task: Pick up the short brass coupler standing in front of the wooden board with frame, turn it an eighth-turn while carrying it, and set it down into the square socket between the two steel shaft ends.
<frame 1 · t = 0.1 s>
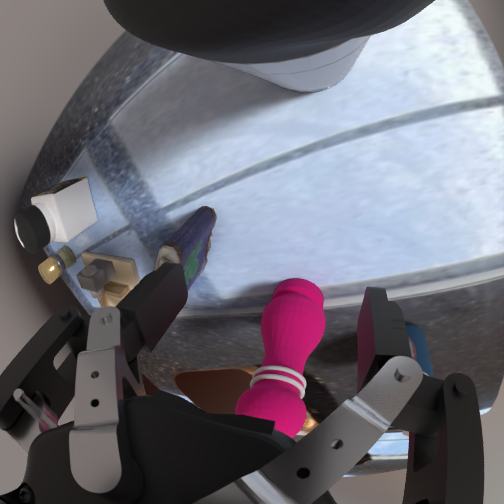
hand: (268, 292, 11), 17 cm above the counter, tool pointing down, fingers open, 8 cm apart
flask: (202, 238, 33), on the counter
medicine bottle: (80, 199, 35), on the counter
pepper mill: (298, 297, 33), on the counter
wooden board with frame: (121, 296, 43), on the counter
soda can: (400, 335, 32), on the counter
coupler: (69, 254, 43), on the counter
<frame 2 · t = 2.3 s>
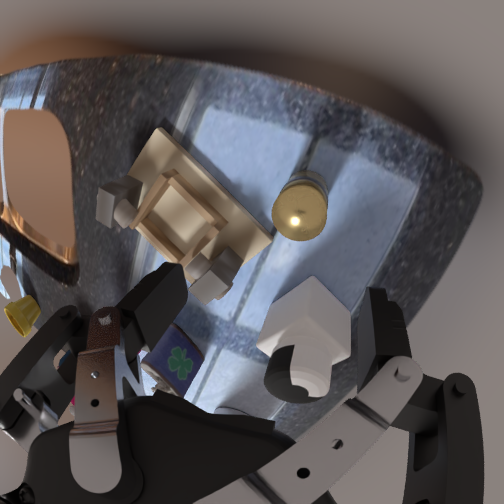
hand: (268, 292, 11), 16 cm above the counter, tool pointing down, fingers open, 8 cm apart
plant pot: (35, 303, 58), on the counter
flask: (187, 342, 42), on the counter
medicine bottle: (310, 307, 32), on the counter
wooden board with frame: (184, 215, 30), on the counter
coupler: (306, 190, 25), on the counter
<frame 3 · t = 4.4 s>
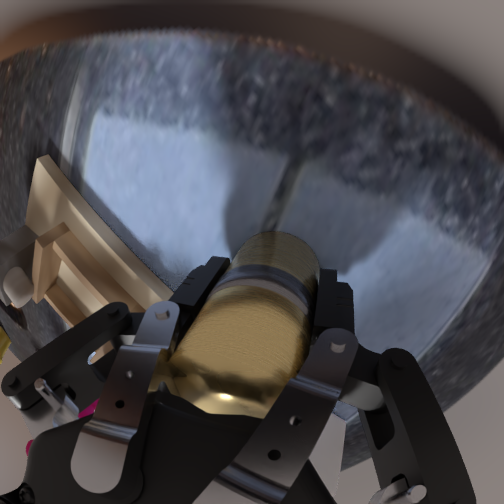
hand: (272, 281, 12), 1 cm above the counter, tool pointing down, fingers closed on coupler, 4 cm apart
plant pot: (4, 332, 46), on the counter
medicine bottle: (288, 412, 19), on the counter
wooden board with frame: (96, 286, 18), on the counter
coupler: (277, 270, 13), on the counter, touching gripper
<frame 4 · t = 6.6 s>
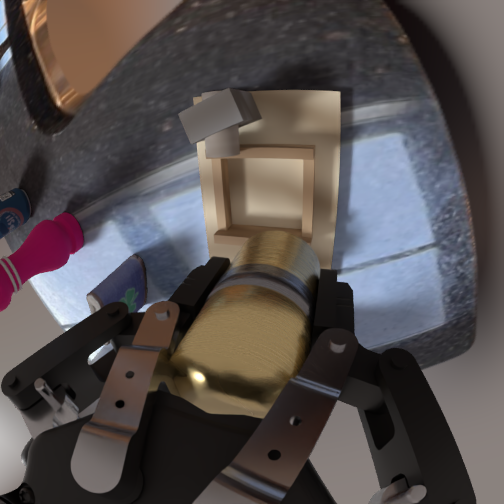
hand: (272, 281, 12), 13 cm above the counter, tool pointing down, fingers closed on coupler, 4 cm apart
flask: (139, 281, 34), on the counter
pepper mill: (72, 230, 34), on the counter
wooden board with frame: (268, 188, 23), on the counter
soda can: (25, 202, 36), on the counter
coupler: (277, 269, 13), point 12 cm above the counter, touching gripper
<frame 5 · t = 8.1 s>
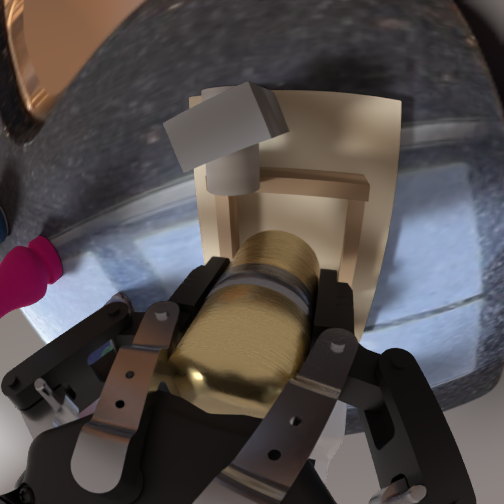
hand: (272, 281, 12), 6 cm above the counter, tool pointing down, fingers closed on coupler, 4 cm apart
flask: (127, 320, 28), on the counter
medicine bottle: (309, 389, 25), on the counter
pepper mill: (50, 256, 28), on the counter
wooden board with frame: (292, 227, 17), on the counter
soda can: (2, 219, 29), on the counter
coupler: (277, 269, 13), point 5 cm above the counter, touching gripper
when the fingers open (3 cm above the counter, at t = 9.1 s): coupler drops 1 cm, resting on wooden board with frame.
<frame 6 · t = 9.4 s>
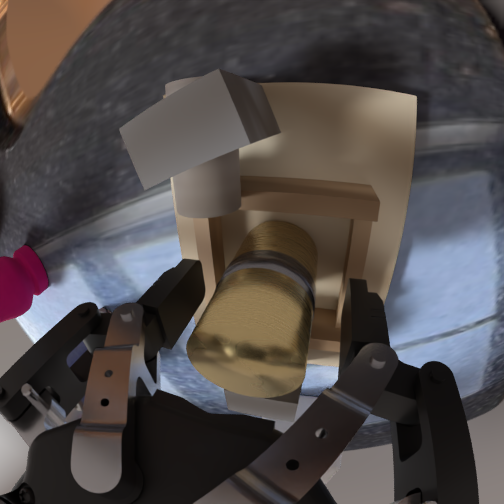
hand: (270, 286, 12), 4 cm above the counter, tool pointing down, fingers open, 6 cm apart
flask: (114, 335, 26), on the counter
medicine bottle: (306, 410, 23), on the counter
pepper mill: (35, 266, 25), on the counter
wooden board with frame: (285, 245, 15), on the counter
coupler: (279, 256, 14), point 1 cm above the counter, touching wooden board with frame
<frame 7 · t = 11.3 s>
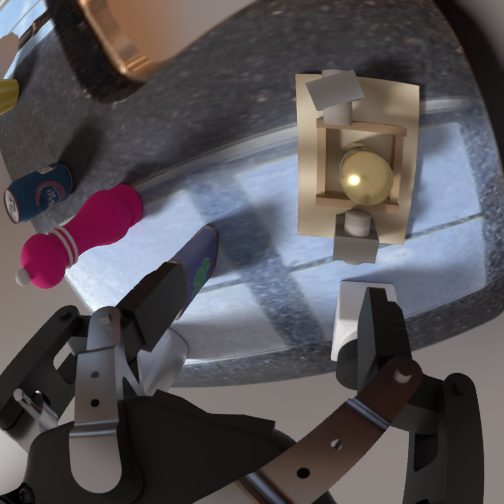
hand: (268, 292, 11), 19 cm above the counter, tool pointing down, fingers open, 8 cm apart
plant pot: (14, 93, 31), on the counter
flask: (207, 253, 36), on the counter
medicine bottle: (363, 302, 33), on the counter
pepper mill: (127, 203, 36), on the counter
wooden board with frame: (357, 159, 24), on the counter
soda can: (64, 178, 37), on the counter
coupler: (357, 162, 24), point 1 cm above the counter, touching wooden board with frame
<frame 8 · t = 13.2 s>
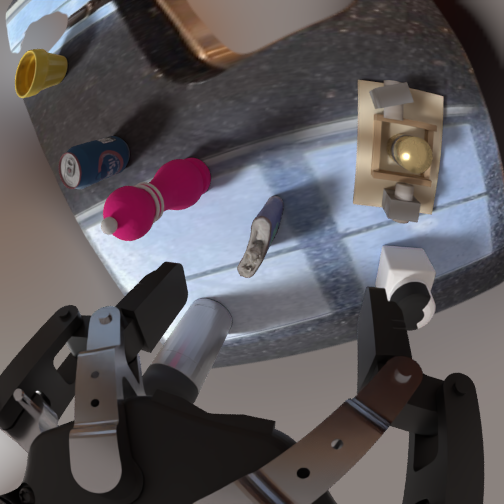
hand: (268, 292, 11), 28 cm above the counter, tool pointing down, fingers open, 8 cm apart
plant pot: (60, 70, 35), on the counter
flask: (270, 222, 41), on the counter
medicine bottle: (398, 265, 38), on the counter
pepper mill: (193, 176, 41), on the counter
wooden board with frame: (399, 147, 30), on the counter
soda can: (119, 153, 42), on the counter
coupler: (400, 149, 29), point 1 cm above the counter, touching wooden board with frame
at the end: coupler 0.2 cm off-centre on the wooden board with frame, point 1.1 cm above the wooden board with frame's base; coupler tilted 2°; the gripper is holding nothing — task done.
